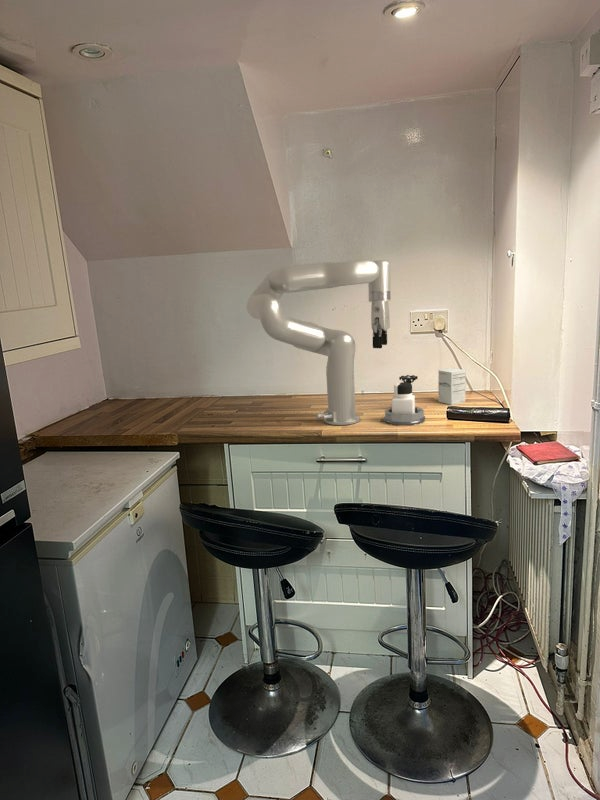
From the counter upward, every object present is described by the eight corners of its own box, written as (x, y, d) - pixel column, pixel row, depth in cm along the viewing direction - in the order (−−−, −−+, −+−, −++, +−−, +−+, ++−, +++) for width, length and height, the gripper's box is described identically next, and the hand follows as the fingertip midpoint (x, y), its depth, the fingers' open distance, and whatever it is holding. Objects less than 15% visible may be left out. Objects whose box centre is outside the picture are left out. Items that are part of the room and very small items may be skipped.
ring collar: (400, 427, 188) (399, 417, 188) (375, 419, 201) (375, 409, 200) (433, 420, 194) (433, 410, 194) (408, 413, 207) (407, 403, 206)
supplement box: (437, 402, 221) (437, 369, 218) (452, 399, 224) (452, 367, 221) (451, 405, 214) (451, 372, 212) (466, 402, 218) (466, 369, 215)
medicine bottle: (415, 415, 200) (414, 381, 197) (413, 420, 193) (412, 385, 190) (394, 414, 202) (393, 381, 199) (391, 420, 195) (391, 385, 192)
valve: (417, 405, 217) (416, 374, 214) (418, 410, 211) (418, 377, 208) (399, 406, 218) (398, 375, 215) (400, 410, 211) (399, 378, 209)
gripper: (385, 297, 189) (386, 349, 193) (394, 295, 205) (394, 343, 209) (363, 298, 192) (364, 349, 195) (373, 296, 208) (374, 343, 211)
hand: (380, 346), depth 202 cm, fingers open, 9 cm apart
